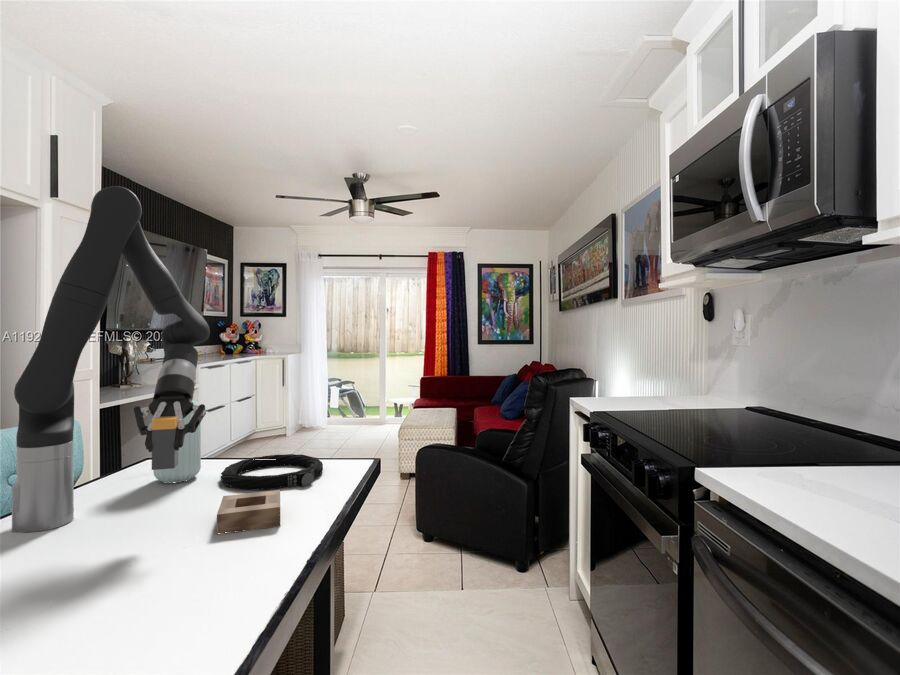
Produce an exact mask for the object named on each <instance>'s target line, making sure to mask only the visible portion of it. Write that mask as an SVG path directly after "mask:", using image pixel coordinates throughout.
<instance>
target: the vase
mask: <svg viewBox="0 0 900 675" xmlns="http://www.w3.org/2000/svg"><path fill="white" fill-rule="evenodd" d="M192 402H193V405H197V406H199V405H200V404H199V403H198V402H197V401H196V400H194V399H193V400H192ZM193 415H194V413H193V411H192V412H191V413H189V414H188V415H187V416H186V417H185V418H184V419H183V421H184V425H186V424H188V423H189V421H190V420H191V418H192V417H193ZM201 424H202V423H200V424H199V426H198V428H197V429H196V431H195V432H194V433H190V432H189V433H186V434H185V437H184V443H183V446H182V447H181V448H179V450H178V464H177V466H176V467H175V468H172V469H159V470H153V475H154V476H153V477H155V479H156V480H158V481H159V482H161V481H162V482H161V483H163V482H166V483H165V484H174V483H173V482H180V483H182V482H181V481H184V482H187V481H186V480H188V481H190V480H192V479H193V478H194V477H195V476H197V475H198V474H199V472H201V468H202V466H201V465H202V464H201V463H202V459H201V458H202V457H201V456H202V453H201V452H202V449H201V447H202V446H201V445H202V444H201V440H202V438H201V431H202V430H201V428H202V427H201ZM191 478H192V479H191ZM189 479H190V480H189Z"/></svg>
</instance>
